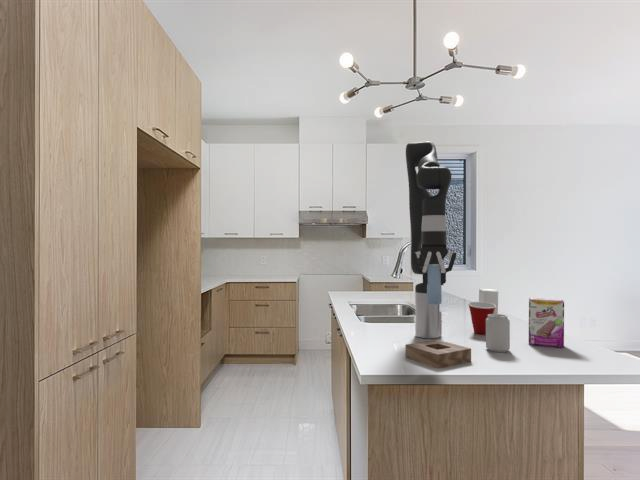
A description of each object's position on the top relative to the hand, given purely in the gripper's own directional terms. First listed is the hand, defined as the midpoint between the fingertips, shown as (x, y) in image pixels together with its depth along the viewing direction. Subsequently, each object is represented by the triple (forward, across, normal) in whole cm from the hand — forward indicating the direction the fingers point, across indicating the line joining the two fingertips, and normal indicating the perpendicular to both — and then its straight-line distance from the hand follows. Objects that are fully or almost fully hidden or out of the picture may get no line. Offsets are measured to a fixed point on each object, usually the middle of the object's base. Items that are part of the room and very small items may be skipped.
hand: (434, 284), depth 133 cm
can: (+24, -20, -17) cm, 36 cm away
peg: (+6, 0, 0) cm, 6 cm away
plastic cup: (+23, -18, -45) cm, 54 cm away
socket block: (+23, -1, 0) cm, 23 cm away
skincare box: (+23, -22, -67) cm, 74 cm away
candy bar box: (+24, -38, -30) cm, 54 cm away
